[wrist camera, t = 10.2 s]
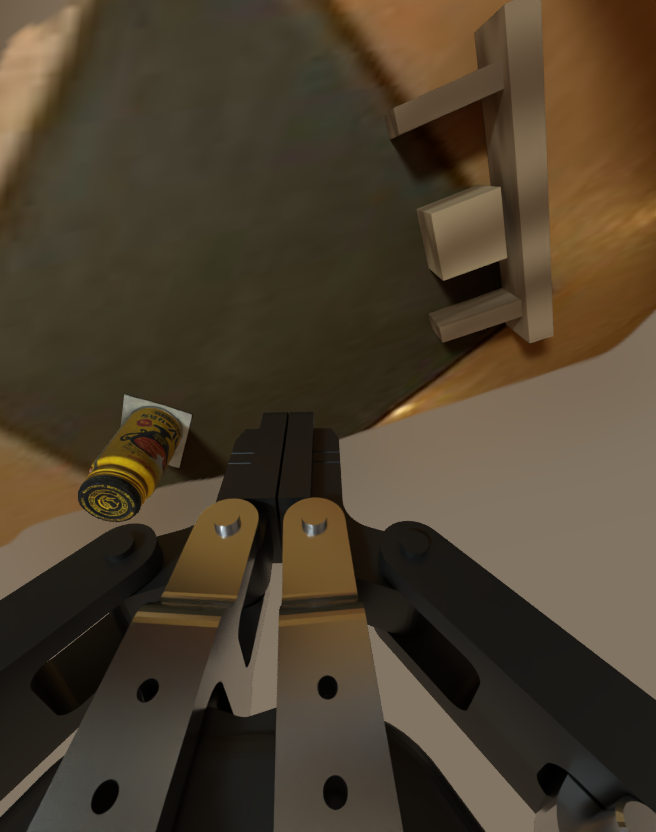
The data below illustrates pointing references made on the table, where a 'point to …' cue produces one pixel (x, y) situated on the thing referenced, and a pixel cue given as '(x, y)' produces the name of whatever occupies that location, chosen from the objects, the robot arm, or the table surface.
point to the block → (463, 231)
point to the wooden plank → (503, 169)
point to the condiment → (134, 460)
